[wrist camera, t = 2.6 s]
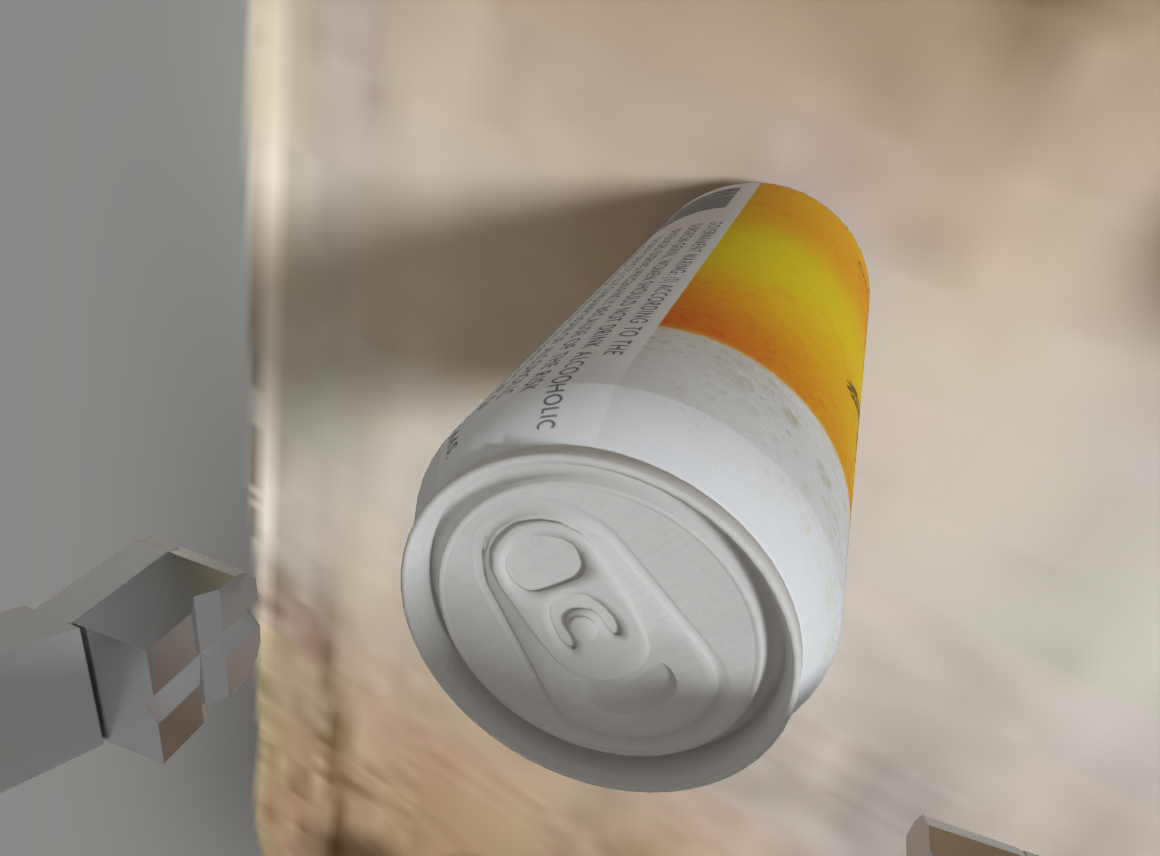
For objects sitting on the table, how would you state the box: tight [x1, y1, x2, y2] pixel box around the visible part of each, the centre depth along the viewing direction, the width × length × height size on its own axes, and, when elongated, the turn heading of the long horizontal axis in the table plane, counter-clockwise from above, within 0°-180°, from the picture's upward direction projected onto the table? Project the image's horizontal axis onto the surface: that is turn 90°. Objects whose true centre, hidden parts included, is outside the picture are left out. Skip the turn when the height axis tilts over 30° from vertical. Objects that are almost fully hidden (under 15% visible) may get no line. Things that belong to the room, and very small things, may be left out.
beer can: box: [401, 183, 870, 793], centre depth 17 cm, size 6×6×15 cm
